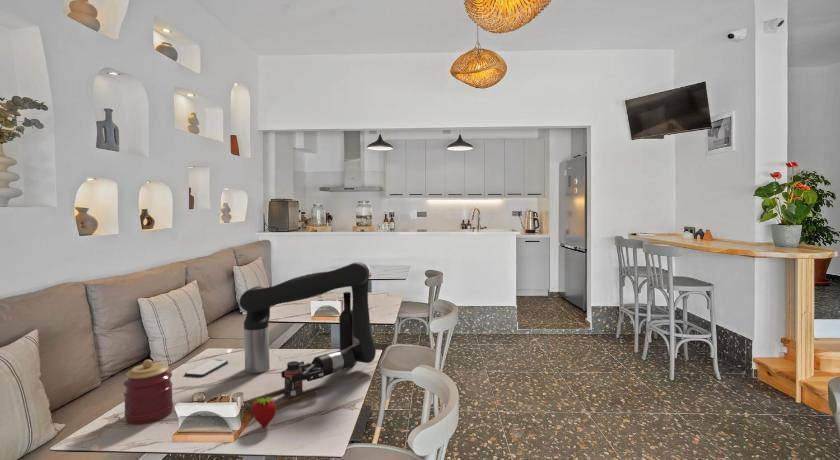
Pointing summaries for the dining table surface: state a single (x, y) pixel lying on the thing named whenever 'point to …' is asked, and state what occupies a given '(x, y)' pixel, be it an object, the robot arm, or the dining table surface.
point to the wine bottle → (346, 324)
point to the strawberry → (264, 411)
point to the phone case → (206, 368)
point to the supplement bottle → (291, 388)
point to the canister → (148, 393)
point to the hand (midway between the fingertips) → (286, 377)
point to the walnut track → (248, 403)
